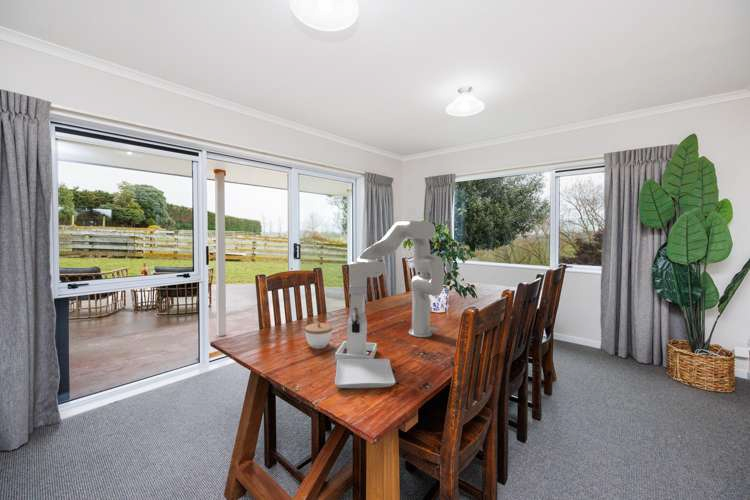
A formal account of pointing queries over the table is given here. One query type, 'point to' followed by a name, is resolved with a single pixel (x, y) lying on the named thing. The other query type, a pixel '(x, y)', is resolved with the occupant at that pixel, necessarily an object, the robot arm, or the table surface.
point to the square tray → (341, 356)
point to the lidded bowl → (318, 335)
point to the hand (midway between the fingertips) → (358, 328)
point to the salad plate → (364, 373)
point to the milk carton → (357, 337)
